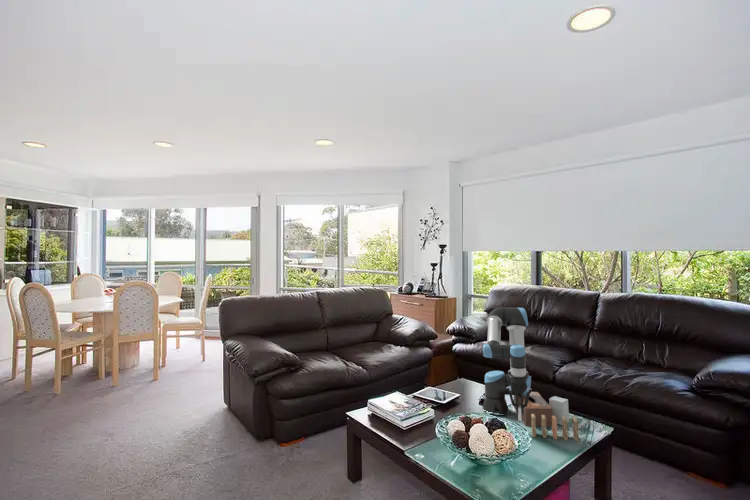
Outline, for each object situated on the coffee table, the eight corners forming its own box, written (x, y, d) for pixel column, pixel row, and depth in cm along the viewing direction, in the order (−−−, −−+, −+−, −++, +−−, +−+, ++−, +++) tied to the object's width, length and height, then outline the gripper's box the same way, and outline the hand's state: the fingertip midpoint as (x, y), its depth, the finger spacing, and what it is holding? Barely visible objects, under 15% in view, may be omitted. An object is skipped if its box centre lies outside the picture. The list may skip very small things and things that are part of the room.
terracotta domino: (553, 438, 201) (553, 419, 202) (552, 434, 206) (551, 415, 206) (557, 439, 201) (556, 419, 201) (555, 434, 206) (555, 415, 206)
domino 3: (564, 439, 200) (563, 420, 200) (562, 435, 205) (562, 416, 205) (567, 440, 200) (567, 420, 200) (566, 435, 204) (565, 416, 204)
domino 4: (575, 441, 199) (574, 421, 199) (573, 436, 203) (572, 417, 204) (578, 441, 198) (578, 421, 198) (576, 436, 203) (576, 417, 203)
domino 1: (532, 436, 204) (532, 417, 204) (531, 432, 209) (531, 413, 209) (536, 437, 204) (535, 417, 204) (535, 432, 209) (534, 414, 209)
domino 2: (543, 437, 203) (542, 418, 203) (542, 433, 208) (541, 414, 208) (546, 438, 202) (545, 418, 202) (545, 433, 207) (544, 414, 207)
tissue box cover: (552, 426, 216) (552, 408, 216) (525, 426, 217) (525, 408, 217) (538, 408, 242) (537, 391, 242) (513, 408, 243) (513, 391, 243)
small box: (569, 422, 220) (568, 399, 220) (563, 426, 216) (563, 402, 216) (555, 418, 226) (554, 395, 226) (549, 421, 222) (548, 398, 222)
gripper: (505, 376, 207) (507, 421, 207) (532, 378, 203) (533, 423, 203) (505, 372, 214) (506, 415, 214) (531, 373, 210) (532, 417, 210)
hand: (519, 419), depth 208 cm, fingers closed
